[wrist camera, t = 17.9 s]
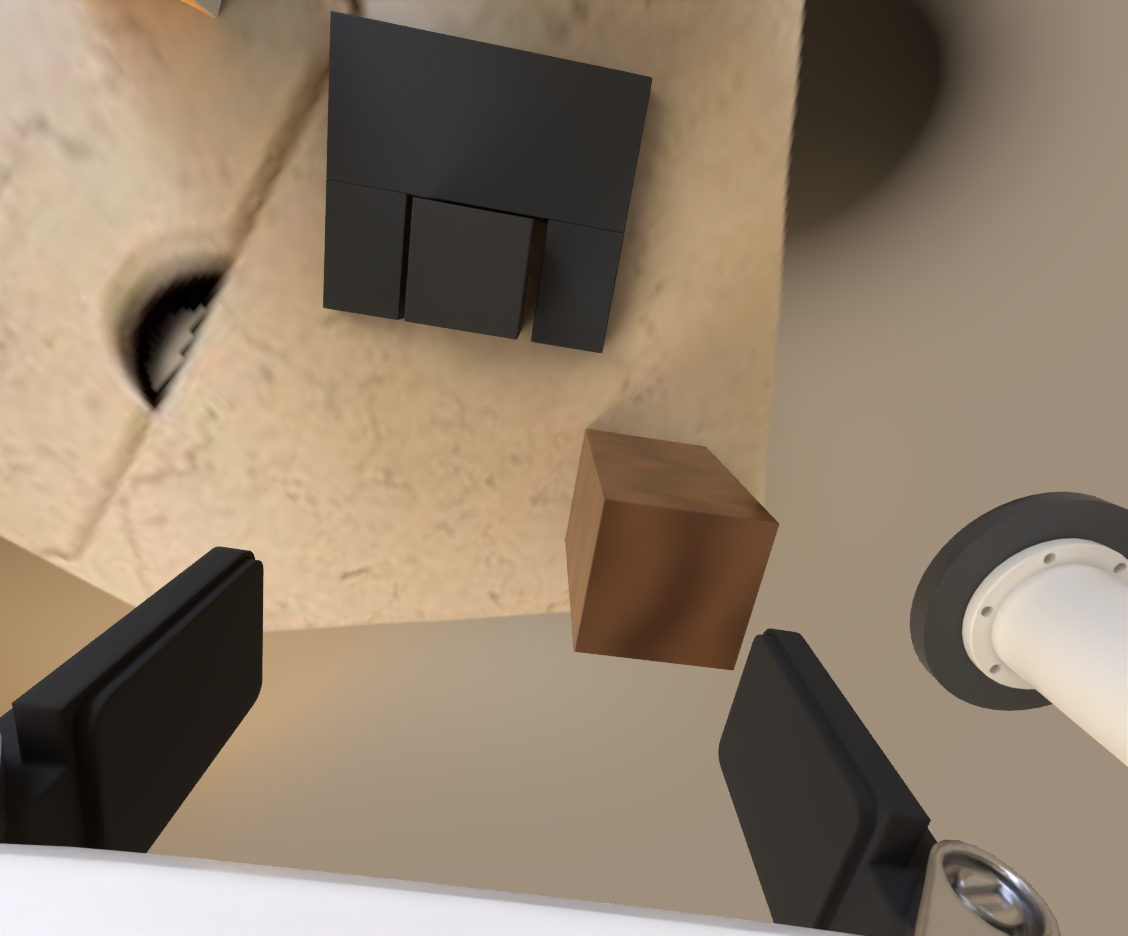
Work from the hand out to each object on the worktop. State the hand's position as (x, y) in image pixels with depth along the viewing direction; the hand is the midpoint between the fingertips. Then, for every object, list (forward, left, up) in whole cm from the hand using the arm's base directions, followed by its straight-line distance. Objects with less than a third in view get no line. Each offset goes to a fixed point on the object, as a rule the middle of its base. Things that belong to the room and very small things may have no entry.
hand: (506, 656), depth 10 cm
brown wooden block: (-8, +6, -26) cm, 27 cm away
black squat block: (+4, -7, -26) cm, 27 cm away
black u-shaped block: (+4, -10, -26) cm, 28 cm away
